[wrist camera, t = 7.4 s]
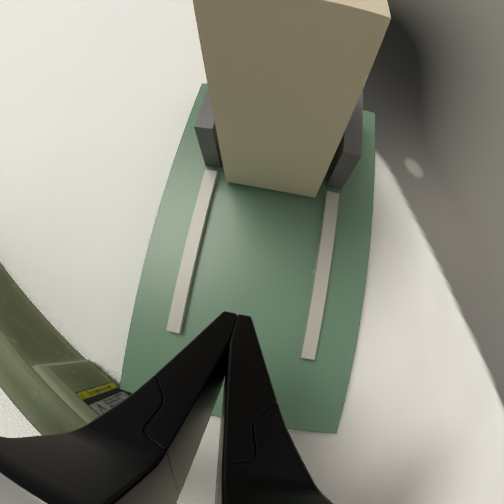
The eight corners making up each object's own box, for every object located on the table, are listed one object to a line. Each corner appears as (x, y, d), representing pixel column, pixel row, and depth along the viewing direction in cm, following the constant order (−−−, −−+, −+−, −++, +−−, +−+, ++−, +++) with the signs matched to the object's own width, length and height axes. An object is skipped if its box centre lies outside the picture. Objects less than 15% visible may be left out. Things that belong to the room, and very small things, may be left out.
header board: (332, 428, 16) (369, 474, 9) (126, 386, 16) (67, 409, 10) (370, 121, 20) (402, 59, 14) (203, 92, 21) (190, 24, 14)
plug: (315, 197, 17) (404, -18, 4) (226, 181, 17) (184, -47, 5) (323, 126, 18) (380, -68, 5) (244, 112, 19) (234, -88, 6)
